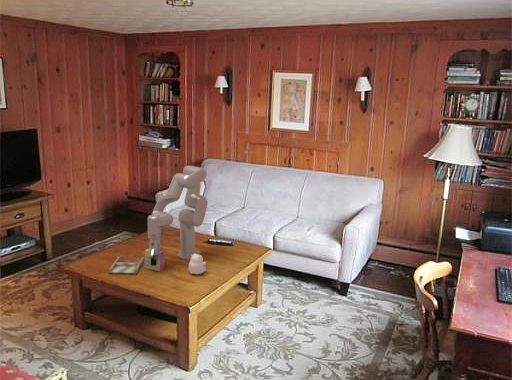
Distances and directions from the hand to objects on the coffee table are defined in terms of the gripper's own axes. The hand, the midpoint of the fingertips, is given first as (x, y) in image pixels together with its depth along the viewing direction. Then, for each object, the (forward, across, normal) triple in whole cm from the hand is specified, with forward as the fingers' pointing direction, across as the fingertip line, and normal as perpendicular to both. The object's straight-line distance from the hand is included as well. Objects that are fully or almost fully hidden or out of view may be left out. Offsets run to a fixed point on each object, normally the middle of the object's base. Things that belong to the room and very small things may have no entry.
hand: (154, 262), depth 262 cm
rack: (+4, 0, +17) cm, 17 cm away
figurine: (+4, -6, -26) cm, 27 cm away
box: (+4, 0, 0) cm, 4 cm away
